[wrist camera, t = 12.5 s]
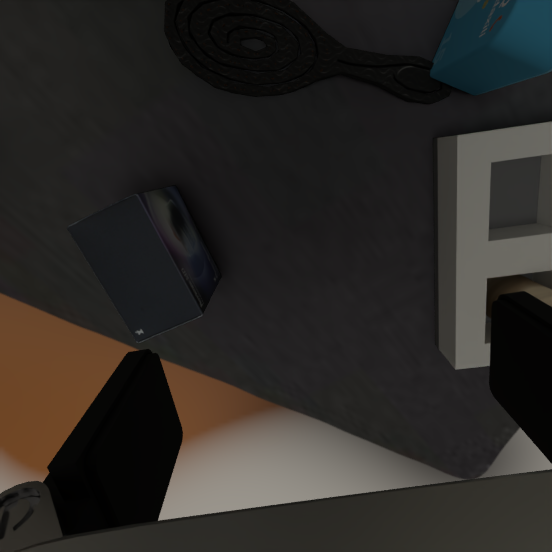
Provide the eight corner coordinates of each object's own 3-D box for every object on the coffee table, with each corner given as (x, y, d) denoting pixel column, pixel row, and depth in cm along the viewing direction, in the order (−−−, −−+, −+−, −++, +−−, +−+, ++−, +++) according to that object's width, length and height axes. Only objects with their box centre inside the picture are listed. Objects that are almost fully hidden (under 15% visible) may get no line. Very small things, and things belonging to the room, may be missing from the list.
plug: (473, 272, 37) (562, 323, 25) (524, 265, 37) (638, 313, 25) (473, 318, 38) (556, 386, 27) (522, 311, 38) (628, 377, 27)
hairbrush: (446, 138, 32) (154, 68, 30) (428, 139, 35) (165, 77, 33) (482, 29, 30) (166, -56, 27) (458, 42, 33) (177, -32, 31)
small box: (226, 276, 39) (207, 318, 29) (172, 299, 40) (135, 348, 30) (178, 181, 36) (137, 191, 26) (120, 209, 37) (60, 228, 27)
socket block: (433, 138, 34) (458, 135, 29) (569, 118, 33) (619, 111, 29) (435, 344, 41) (456, 370, 36) (549, 331, 40) (587, 356, 35)
